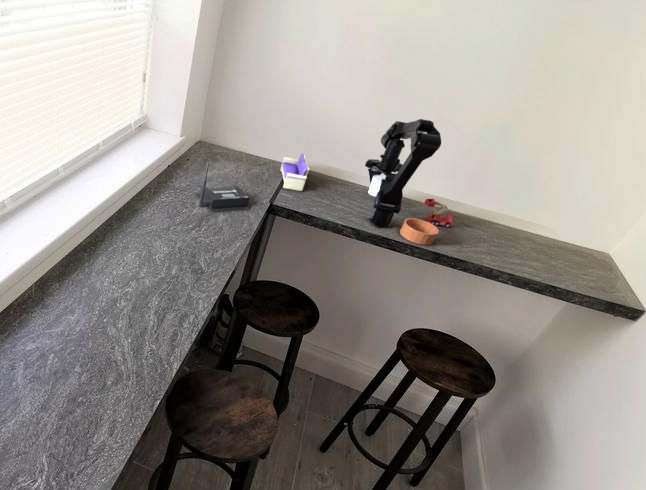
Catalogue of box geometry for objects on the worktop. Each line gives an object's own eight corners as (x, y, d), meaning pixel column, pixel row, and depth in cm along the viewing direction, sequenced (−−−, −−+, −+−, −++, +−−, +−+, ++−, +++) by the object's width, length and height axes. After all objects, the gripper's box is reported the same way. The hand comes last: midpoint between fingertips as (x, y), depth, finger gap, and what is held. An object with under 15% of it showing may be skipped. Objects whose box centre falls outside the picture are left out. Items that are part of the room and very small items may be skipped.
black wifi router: (233, 192, 198) (242, 151, 188) (249, 209, 188) (261, 166, 178) (188, 195, 191) (195, 152, 181) (203, 212, 181) (212, 168, 171)
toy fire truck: (451, 227, 198) (463, 206, 192) (418, 222, 198) (429, 200, 192) (448, 224, 201) (460, 202, 195) (415, 218, 201) (426, 197, 195)
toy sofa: (279, 170, 224) (285, 148, 218) (298, 173, 224) (304, 151, 218) (282, 188, 208) (289, 165, 202) (302, 192, 208) (310, 169, 201)
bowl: (412, 245, 182) (418, 234, 179) (393, 228, 191) (398, 218, 188) (440, 244, 185) (445, 234, 182) (419, 228, 194) (424, 218, 191)
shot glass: (381, 199, 200) (388, 183, 195) (365, 193, 202) (371, 177, 198) (384, 194, 205) (391, 178, 200) (368, 188, 207) (375, 173, 203)
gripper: (423, 164, 188) (405, 201, 198) (394, 146, 202) (379, 182, 212) (399, 163, 185) (382, 201, 195) (371, 145, 199) (357, 181, 209)
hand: (376, 191), depth 203 cm, fingers closed on shot glass, 6 cm apart
